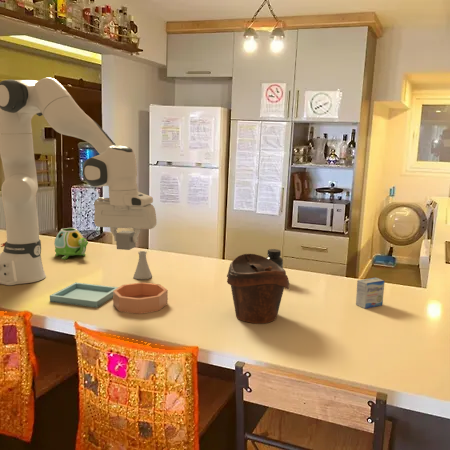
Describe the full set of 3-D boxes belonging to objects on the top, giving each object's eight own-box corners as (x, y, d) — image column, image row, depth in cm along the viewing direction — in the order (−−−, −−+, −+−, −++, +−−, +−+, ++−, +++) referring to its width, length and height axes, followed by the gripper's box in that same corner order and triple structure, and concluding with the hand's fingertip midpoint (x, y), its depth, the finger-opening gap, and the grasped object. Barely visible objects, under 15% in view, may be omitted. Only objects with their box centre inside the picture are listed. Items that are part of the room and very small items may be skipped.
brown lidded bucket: (273, 333, 139) (275, 271, 136) (213, 318, 150) (214, 260, 147) (298, 315, 154) (301, 259, 151) (243, 302, 165) (244, 250, 162)
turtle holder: (73, 263, 207) (72, 235, 204) (48, 255, 218) (47, 229, 215) (97, 257, 216) (97, 230, 214) (73, 250, 227) (72, 225, 225)
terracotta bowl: (105, 309, 155) (105, 295, 154) (129, 293, 170) (129, 280, 169) (153, 315, 151) (153, 301, 150) (172, 299, 166) (172, 285, 165)
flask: (148, 280, 185) (148, 254, 183) (130, 279, 186) (129, 253, 184) (154, 275, 192) (154, 250, 190) (137, 274, 193) (137, 249, 191)
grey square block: (116, 249, 157) (115, 233, 156) (123, 245, 161) (122, 230, 160) (129, 249, 155) (128, 234, 154) (135, 246, 159) (134, 231, 158)
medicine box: (364, 309, 160) (366, 283, 159) (355, 304, 164) (357, 279, 163) (382, 305, 164) (385, 280, 162) (373, 301, 168) (375, 276, 166)
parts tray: (49, 301, 161) (49, 295, 161) (75, 287, 175) (75, 282, 175) (96, 307, 156) (96, 301, 156) (119, 293, 171) (119, 287, 170)
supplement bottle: (274, 285, 183) (276, 253, 181) (260, 281, 187) (261, 250, 185) (285, 281, 188) (287, 250, 186) (271, 277, 192) (272, 247, 190)
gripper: (88, 198, 155) (91, 242, 157) (149, 200, 149) (151, 245, 152) (99, 196, 161) (102, 237, 163) (157, 197, 155) (159, 240, 158)
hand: (126, 241), depth 158 cm, fingers closed on grey square block, 4 cm apart
